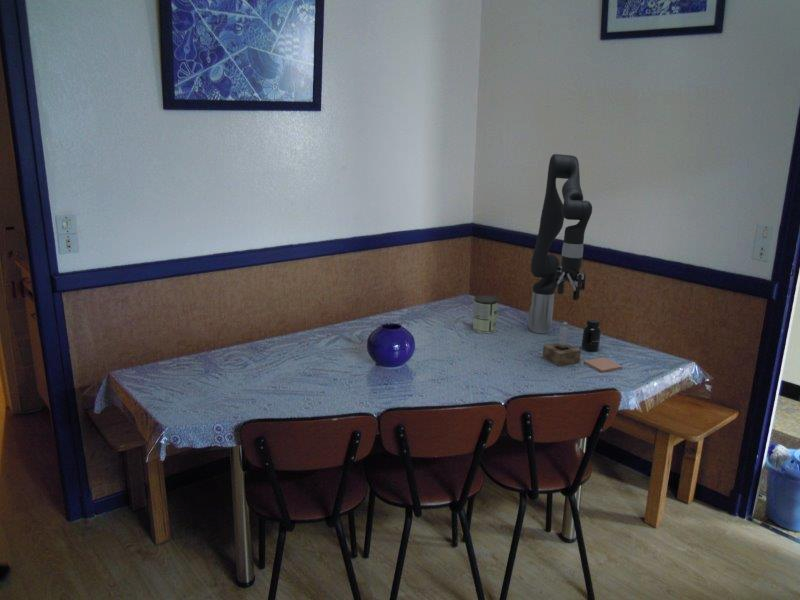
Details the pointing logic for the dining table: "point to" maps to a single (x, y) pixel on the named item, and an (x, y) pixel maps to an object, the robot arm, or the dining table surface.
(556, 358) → the walnut block
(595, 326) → the supplement bottle
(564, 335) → the metal pin
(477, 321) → the coffee can
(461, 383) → the dining table surface
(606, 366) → the terracotta mat
